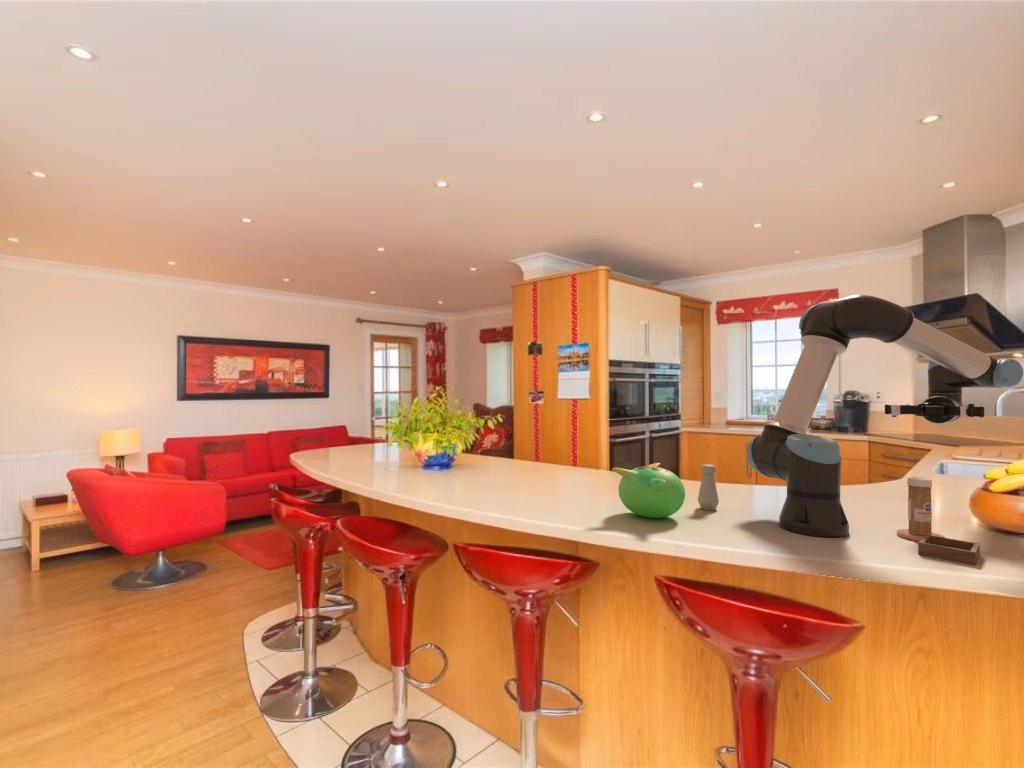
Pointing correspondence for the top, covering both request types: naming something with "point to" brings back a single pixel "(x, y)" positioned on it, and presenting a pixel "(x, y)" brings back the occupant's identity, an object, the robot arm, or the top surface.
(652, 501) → the green cartoon creature figurine
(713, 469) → the salt shaker
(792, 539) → the top surface
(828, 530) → the robot arm
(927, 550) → the walnut collar
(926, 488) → the sprinkles bottle
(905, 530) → the terracotta coaster
